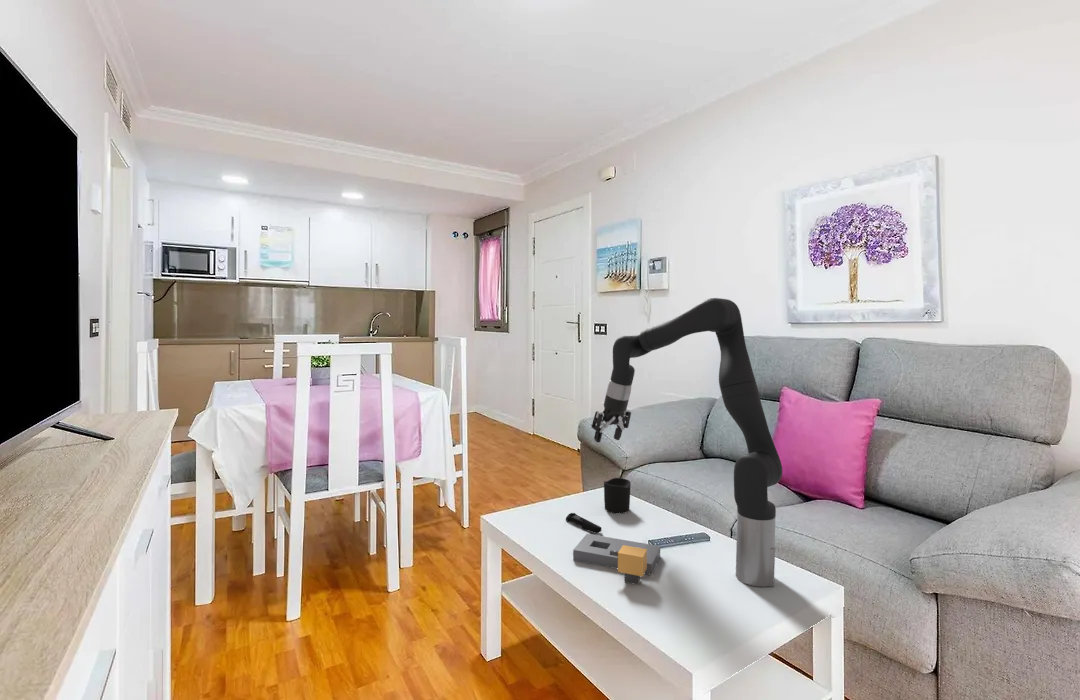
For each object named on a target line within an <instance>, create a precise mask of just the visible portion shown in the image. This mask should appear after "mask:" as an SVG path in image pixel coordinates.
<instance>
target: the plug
mask: <svg viewBox="0 0 1080 700" xmlns="http://www.w3.org/2000/svg"><path fill="white" fill-rule="evenodd" d="M610 555H613V556H618V569H617V572H618V573H621V574H624V577H623V578H624V581H625V582H624V583H628V582H629V583H628V584H632V583H634V584H633V585H637V584H638V585H639V584H640V581H641V577H644V575H645V574H644V573H645V571H646V569H647V549H643V548H637V547H631V546H626V545H623V546H622V547H621V549H620V550H619V552H618V551H612V550H610Z"/></svg>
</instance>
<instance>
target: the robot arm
mask: <svg viewBox="0 0 1080 700" xmlns="http://www.w3.org/2000/svg"><path fill="white" fill-rule="evenodd" d="M703 332H704V333H705V332H712V333H715V335H716V338H717V341H718V345H719V349H720V361H719V370H718V385H719V390H720V394H721V397H722V401H723V404H724V407H725V408H726V411H727V412H728V414H729V415H730V416H731V418H732V420H733V421H734V422H735V424H736V425H737V426H738V427H739V429H740V431H741V432H742V434H743V437H744V441H745V444H746V447H747V452H748V453H747V454H743V455H741V456H739V457H738V458H737V459H736V461H735V463H734V467H733V495H734V497H733V498H734V501H735V504H736V548H735V549H736V552H735V553H736V555H735V577H736V578H737V579H738V580H739V581H740V582H742V583H743V584H746V585H749V586H753V587H759V588H760V587H762V588H764V587H772V588H774V587H775V569H776V568H775V563H776V562H775V561H776V549H775V548H776V545H775V544H776V516H777V511H776V505H775V504H774V503H773V502H772V501H770V500H769V497H768V488H769V487H771V486H775V485H777V484H778V483H779V482H780V481H781V479H782V476H783V466H782V462H781V461H782V460H781V459H780V456H779V453H778V451H777V448H776V445H775V443H774V440H773V438H772V435H771V432H770V430H769V426H768V425H769V424H768V421H767V418H766V415H765V411H764V408H763V404H762V401H761V396H760V392H759V388H758V385H757V380H756V377H755V375H754V371H753V368H752V363H751V359H750V356H749V353H748V350H747V349H748V348H747V346H746V345H747V344H746V339H745V335H744V334H745V333H744V326H743V320H742V315H741V309H739V306H738V305H737V304H736V303H735V302H734V301H732V300H731V299H727V298H722V297H721V298H719V297H711V298H708V299H707V298H706V299H705V300H704V301H702V302H700V303H698V304H697V305H695V306H693V307H692V308H689V310H686V311H685V312H683V313H681V314H679V315H677V316H675V317H673V318H671V319H667V320H665V321H662V322H660V323H657V324H655V325H652V326H649V327H647V328H644V329H643V330H642V331H641V332H640V333H639V334H636V335H622V336H618V337H617V339H616V340H615V341H614V344H613V346H612V372H611V375H610V379H609V383H608V384H607V389H606V393H605V398H604V402H603V407H604V409H603V411H602V412H600V411H598V410H597V411H595V412H594V413H595V414H594V417H593V420H592V423H591V429H592V430H594V431H595V432H594V437H593V440H594V441H595V442H597V443H601V440H602V436H603V431H604V430H605V429H607V428H608V427H609V426H612V425H615V426H616V428H615V431H614V434H613V439H614V440H616V441H620V440H621V437H622V434H623V431H624V430H625V429H628V428H629V425H630V420H631V416H632V412H631V411H630V410H628V409H627V408H628V404H629V401H630V396H631V391H632V385H633V380H634V377H635V372H636V371H635V370H636V369H635V367H634V366H633V365H631V364H630V360H631V359H632V358H633V359H634V358H635V359H636V358H639V357H642V356H645V355H647V354H649V353H650V352H652V351H656V350H659V349H661V348H665V347H667V346H671V345H672V344H674V343H676V342H677V341H679V340H680V339H682V338H684V337H686V336H689V335H693V334H698V333H703Z"/></svg>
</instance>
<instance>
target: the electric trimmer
mask: <svg viewBox="0 0 1080 700" xmlns="http://www.w3.org/2000/svg"><path fill="white" fill-rule="evenodd" d="M565 521H566V522H571V523H573V524H574V525H577V526H579V527H580V528H581V529H583V530H585V531H588V532H591V533H595V534H597V533H601V532H602V527H601V526H600V525H598V524H596V523H594V522H592V521H589V520H588V519H586V518H584V517H581V516H579V515H578V514H577V513H575V512H570V513H569V514H568V515H567V516H566V518H565Z"/></svg>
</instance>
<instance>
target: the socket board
mask: <svg viewBox="0 0 1080 700" xmlns="http://www.w3.org/2000/svg"><path fill="white" fill-rule="evenodd" d="M623 545H626V546H631V547H637V548H643V549H647V569H646V571H645V574H644V575H647V574H650V575H649V576H653V574H652V573H654V571H655V570H656V567H657V565H656V564H658V562H659V561H660V558H661V545H655V544H650V543H644V542H638V541H631V540H627V539H621V538H616V537H615V538H614V537H610V536H604V535H597V534H591V533H586V534H585V535H584V536H583V537H582V539H581V540H580V541H579V542H578V544H577V545H576V546H575V547H574V548H573V549H572V550H573V551H572V552H573V555H572V556H573V558H572V559H573V560H572V561H575V560H576V561H577V562H582V563H586V564H592V565H596V566H601V565H602V566H601V567H606V566H608V567H607V568H611V567H613V568H612V569H617V568H618V556H613V555H610V550H612V551H618V552H619V550H620V549H621V547H622V546H623ZM576 561H575V562H576Z"/></svg>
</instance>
